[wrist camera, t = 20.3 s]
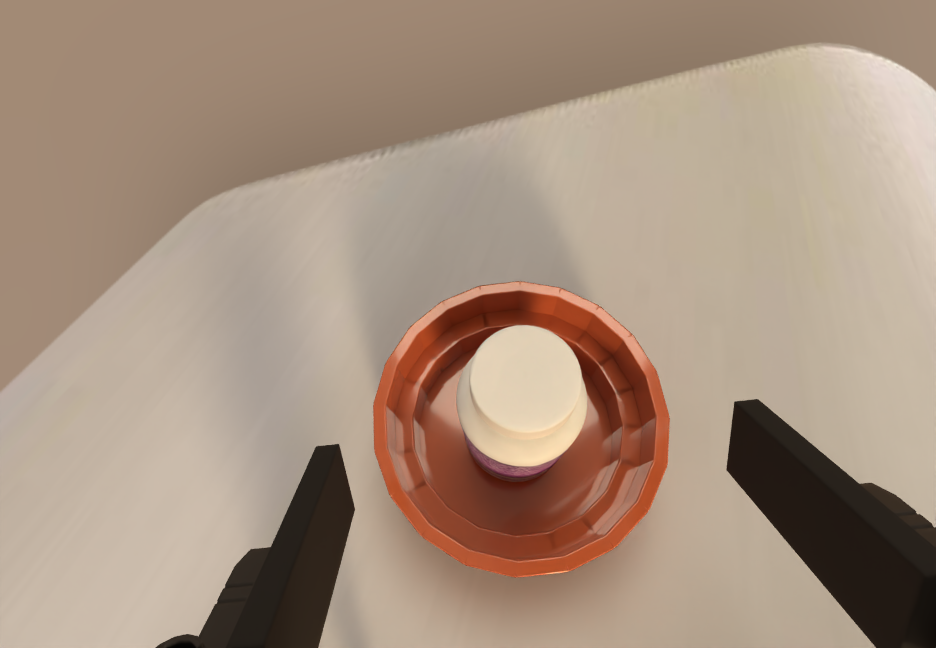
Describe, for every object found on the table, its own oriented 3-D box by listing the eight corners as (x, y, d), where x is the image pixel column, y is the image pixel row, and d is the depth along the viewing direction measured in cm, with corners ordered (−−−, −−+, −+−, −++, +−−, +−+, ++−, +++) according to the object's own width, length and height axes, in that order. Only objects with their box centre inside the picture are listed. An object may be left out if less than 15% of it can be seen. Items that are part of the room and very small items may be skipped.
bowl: (606, 310, 28) (628, 268, 24) (666, 551, 23) (708, 556, 18) (390, 334, 28) (370, 297, 24) (399, 580, 23) (376, 593, 18)
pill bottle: (576, 471, 24) (625, 439, 15) (475, 492, 24) (464, 471, 15) (550, 373, 26) (578, 295, 17) (457, 391, 26) (438, 321, 17)
